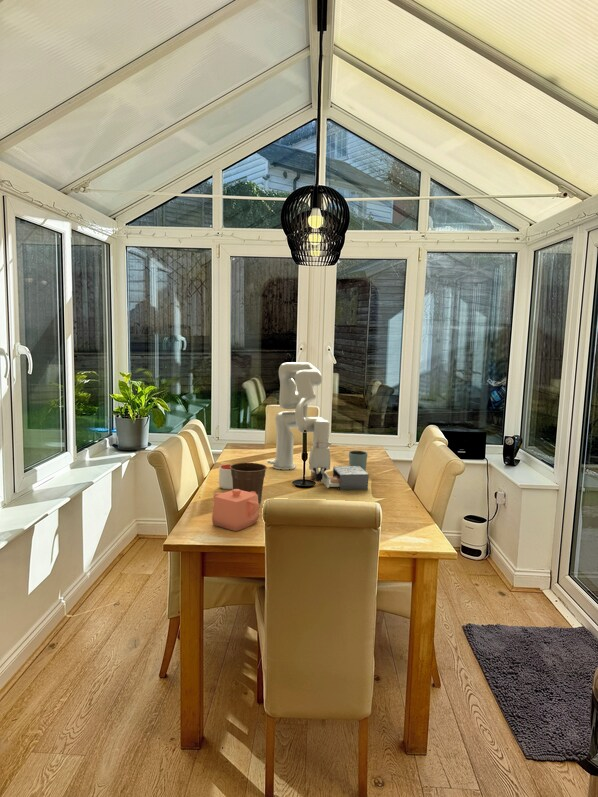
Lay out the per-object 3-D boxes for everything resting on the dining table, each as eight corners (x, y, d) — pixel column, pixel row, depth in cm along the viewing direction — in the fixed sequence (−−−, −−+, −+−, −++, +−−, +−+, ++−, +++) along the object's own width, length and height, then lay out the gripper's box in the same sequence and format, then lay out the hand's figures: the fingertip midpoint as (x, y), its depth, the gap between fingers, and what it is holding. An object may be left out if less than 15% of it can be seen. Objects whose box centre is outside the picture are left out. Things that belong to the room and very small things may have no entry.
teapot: (246, 536, 202) (247, 500, 201) (201, 523, 214) (202, 489, 212) (276, 521, 219) (277, 487, 218) (233, 510, 231) (234, 478, 229)
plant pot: (241, 494, 253) (242, 460, 251) (272, 500, 246) (273, 465, 244) (221, 503, 238) (222, 467, 236) (253, 510, 231) (254, 473, 229)
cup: (222, 491, 257) (223, 470, 255) (216, 485, 265) (216, 465, 264) (242, 489, 261) (243, 468, 260) (235, 483, 270) (235, 463, 269)
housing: (340, 490, 265) (340, 474, 264) (332, 481, 280) (333, 466, 279) (367, 490, 267) (368, 474, 266) (358, 481, 283) (359, 466, 282)
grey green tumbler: (365, 477, 291) (366, 455, 289) (346, 475, 293) (347, 453, 291) (367, 472, 301) (368, 451, 299) (348, 470, 303) (349, 449, 301)
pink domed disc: (332, 484, 268) (332, 480, 268) (329, 480, 275) (329, 476, 275) (345, 483, 269) (346, 479, 269) (342, 479, 276) (342, 476, 276)
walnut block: (312, 479, 281) (312, 472, 281) (310, 477, 285) (311, 470, 285) (319, 479, 282) (320, 472, 282) (318, 477, 286) (318, 470, 286)
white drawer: (327, 487, 264) (327, 476, 263) (320, 479, 278) (321, 468, 278) (353, 487, 266) (354, 476, 265) (346, 479, 281) (346, 468, 280)
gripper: (333, 443, 273) (332, 478, 275) (304, 443, 271) (302, 479, 273) (337, 446, 266) (335, 483, 268) (306, 446, 263) (305, 483, 266)
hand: (319, 480), depth 271 cm, fingers closed
